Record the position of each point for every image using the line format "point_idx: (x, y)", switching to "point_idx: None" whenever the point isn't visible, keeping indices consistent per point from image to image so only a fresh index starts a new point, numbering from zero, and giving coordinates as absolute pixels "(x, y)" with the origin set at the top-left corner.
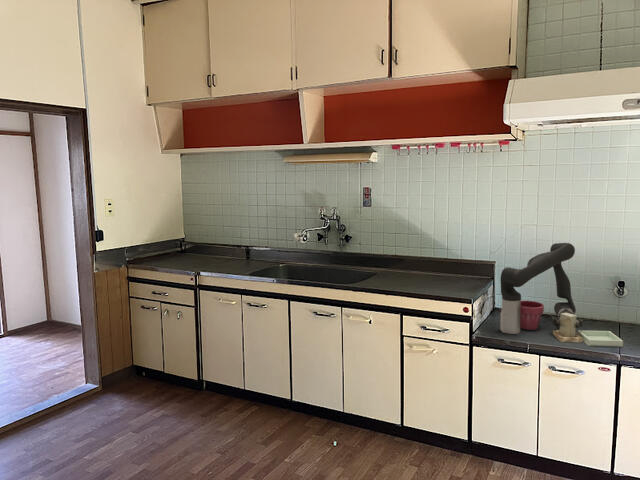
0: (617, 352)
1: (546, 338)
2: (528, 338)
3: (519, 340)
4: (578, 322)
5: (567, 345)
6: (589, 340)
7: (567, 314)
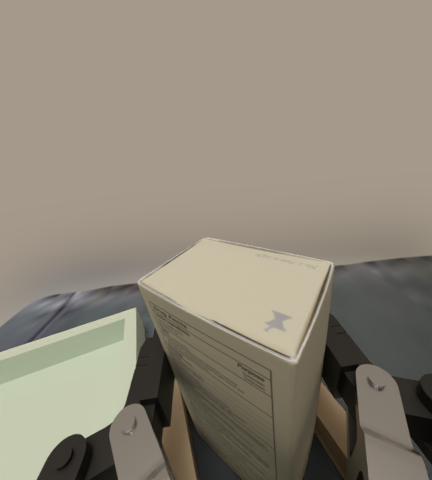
0: (61, 313)
1: None
2: (422, 310)
3: (415, 274)
4: (120, 417)
5: None
6: (134, 309)
7: (242, 269)
